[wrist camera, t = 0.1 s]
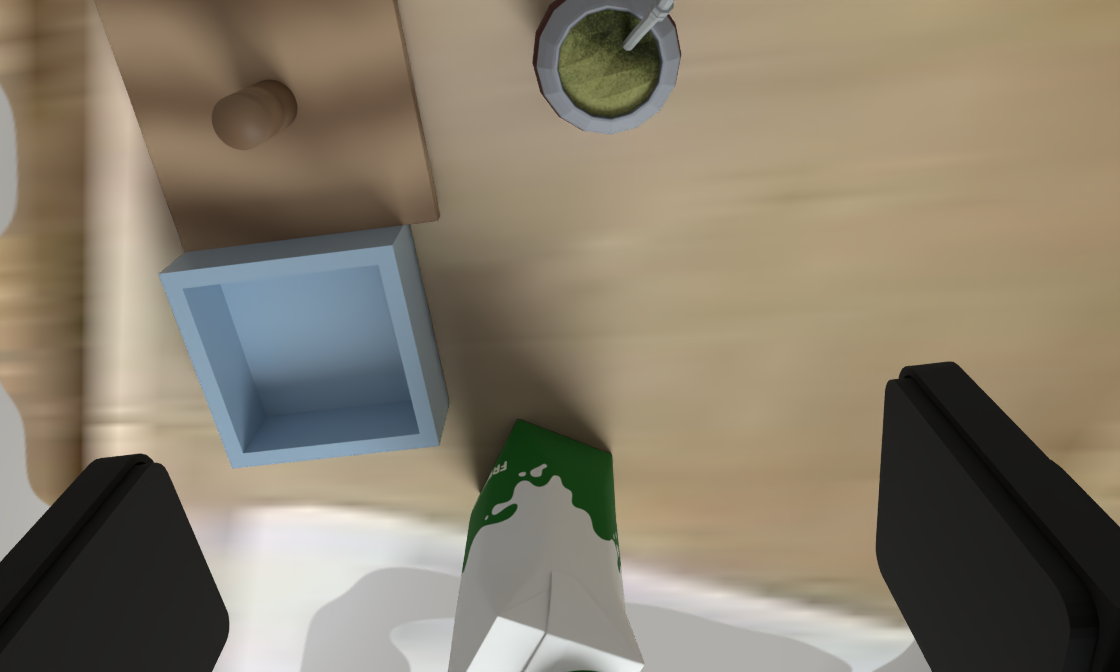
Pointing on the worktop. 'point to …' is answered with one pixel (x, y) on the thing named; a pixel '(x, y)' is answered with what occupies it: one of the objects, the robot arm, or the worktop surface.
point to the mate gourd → (607, 61)
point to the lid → (275, 115)
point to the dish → (312, 345)
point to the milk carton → (544, 564)
